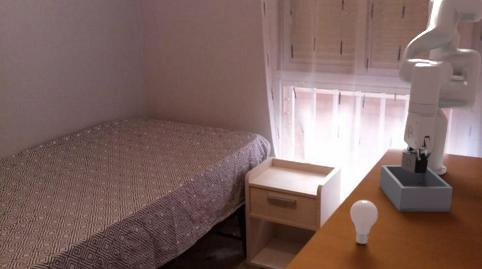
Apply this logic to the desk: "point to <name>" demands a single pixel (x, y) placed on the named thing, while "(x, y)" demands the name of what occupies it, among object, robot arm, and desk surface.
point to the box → (415, 190)
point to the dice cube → (409, 160)
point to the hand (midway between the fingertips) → (415, 168)
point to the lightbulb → (363, 218)
